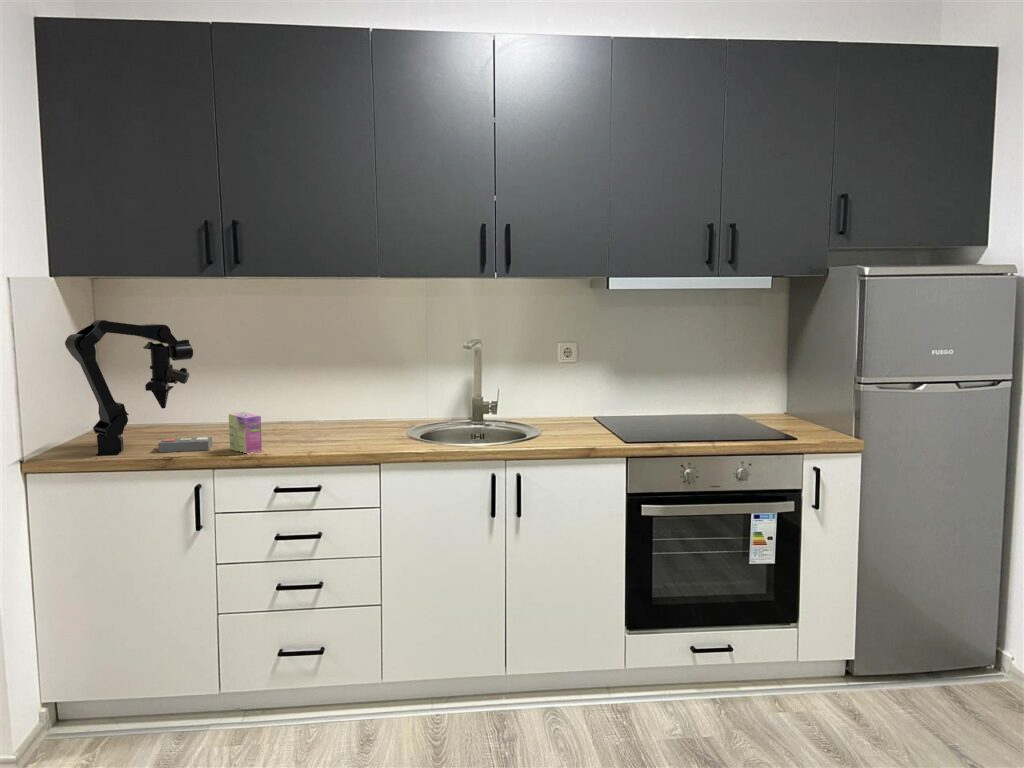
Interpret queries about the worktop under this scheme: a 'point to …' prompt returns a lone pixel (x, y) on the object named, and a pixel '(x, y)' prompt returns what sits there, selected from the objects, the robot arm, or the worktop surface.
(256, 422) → the box
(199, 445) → the button panel
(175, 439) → the red button
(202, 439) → the cream button
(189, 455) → the worktop surface
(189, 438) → the green button
